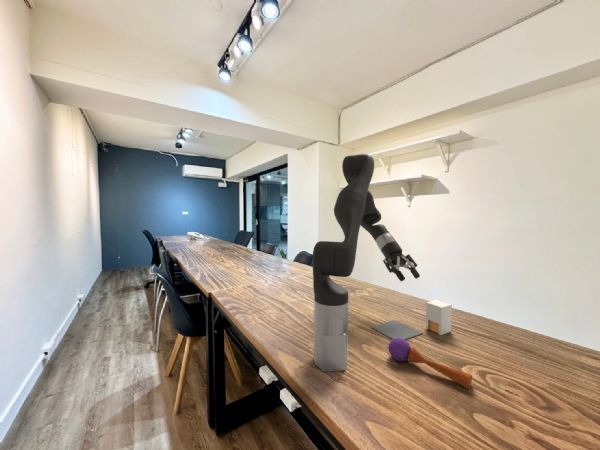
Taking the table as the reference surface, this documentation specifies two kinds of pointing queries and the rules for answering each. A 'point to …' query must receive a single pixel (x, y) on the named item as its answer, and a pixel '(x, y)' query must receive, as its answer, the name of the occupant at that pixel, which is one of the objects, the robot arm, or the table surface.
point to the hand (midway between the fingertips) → (410, 278)
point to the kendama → (426, 361)
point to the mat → (396, 330)
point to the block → (434, 326)
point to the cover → (439, 315)
